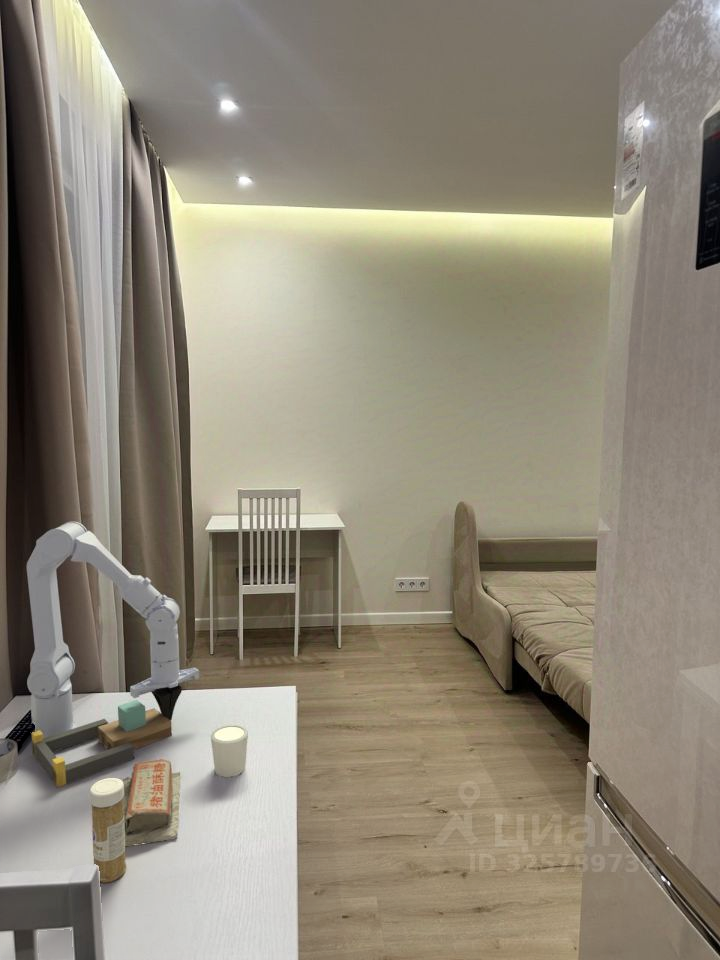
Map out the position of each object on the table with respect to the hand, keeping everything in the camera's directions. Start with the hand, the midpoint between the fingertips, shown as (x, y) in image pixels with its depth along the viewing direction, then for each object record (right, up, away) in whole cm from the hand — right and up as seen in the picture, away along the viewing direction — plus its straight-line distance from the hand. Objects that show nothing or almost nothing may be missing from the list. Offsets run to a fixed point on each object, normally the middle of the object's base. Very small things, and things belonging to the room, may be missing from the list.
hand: (166, 719), depth 134 cm
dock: (-13, -3, -11) cm, 17 cm away
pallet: (-5, -2, -5) cm, 7 cm away
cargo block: (-5, +1, -5) cm, 8 cm away
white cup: (+17, -4, -16) cm, 23 cm away
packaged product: (+6, -5, -28) cm, 29 cm away
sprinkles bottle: (+5, -6, -43) cm, 43 cm away
